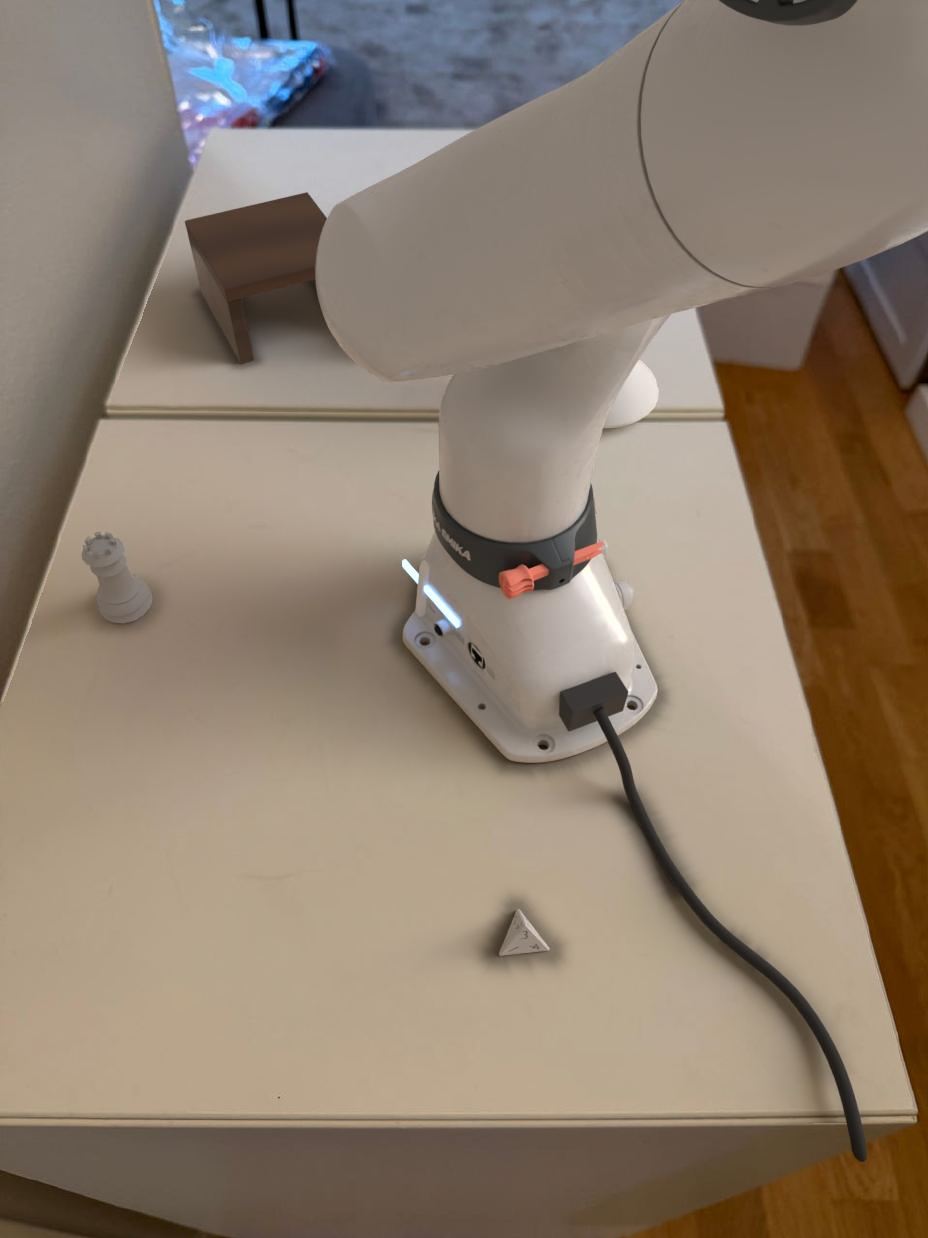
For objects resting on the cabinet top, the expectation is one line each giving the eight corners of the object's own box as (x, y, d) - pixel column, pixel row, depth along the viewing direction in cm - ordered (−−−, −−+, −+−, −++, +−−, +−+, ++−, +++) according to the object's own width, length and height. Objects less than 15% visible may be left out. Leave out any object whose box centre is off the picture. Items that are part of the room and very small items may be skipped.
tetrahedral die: (533, 976, 62) (551, 970, 59) (497, 955, 62) (514, 948, 59) (551, 928, 64) (570, 921, 61) (517, 908, 63) (533, 899, 61)
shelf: (362, 329, 102) (355, 255, 95) (240, 364, 98) (224, 289, 91) (316, 264, 110) (307, 191, 103) (202, 294, 106) (184, 220, 99)
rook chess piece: (154, 582, 80) (129, 519, 74) (153, 623, 78) (127, 561, 71) (101, 588, 80) (71, 525, 73) (98, 629, 77) (67, 568, 71)
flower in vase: (661, 440, 92) (721, 199, 72) (547, 437, 92) (575, 195, 72) (648, 358, 100) (698, 120, 80) (543, 355, 100) (567, 116, 80)
